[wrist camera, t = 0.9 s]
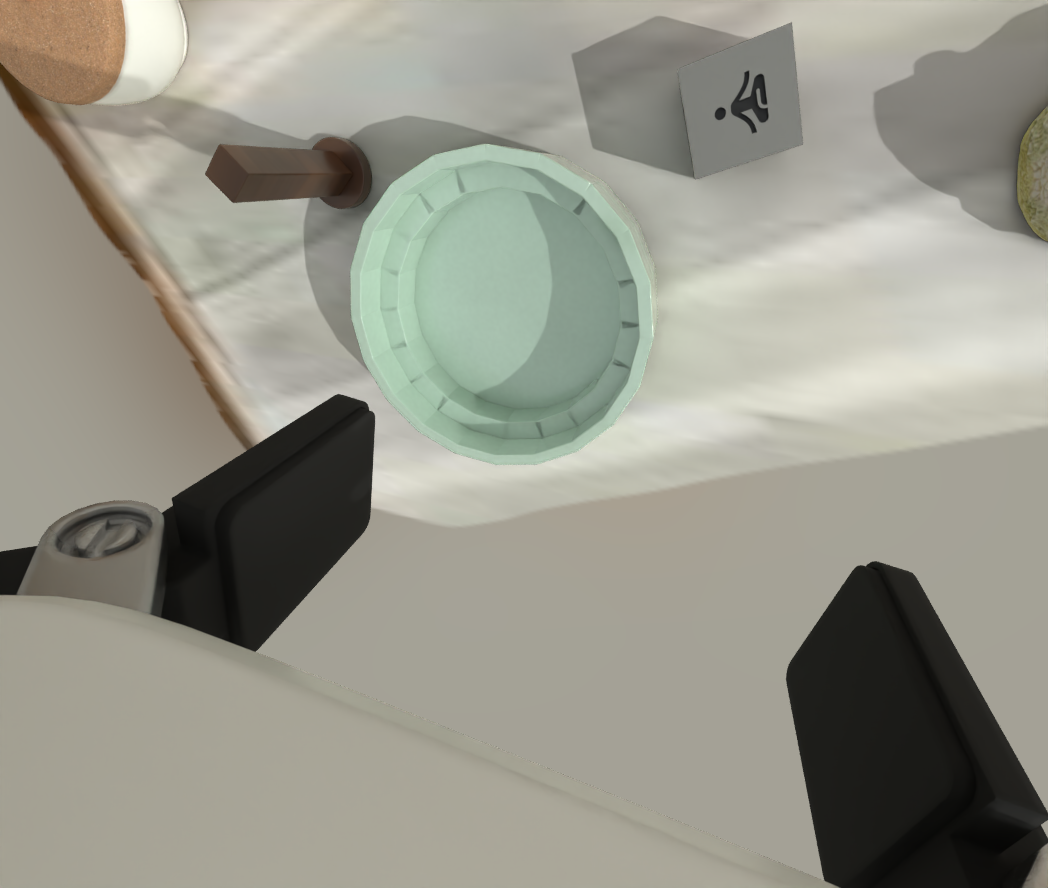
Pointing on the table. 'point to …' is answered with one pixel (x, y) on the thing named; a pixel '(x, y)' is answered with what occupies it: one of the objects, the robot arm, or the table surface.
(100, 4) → the trinket box
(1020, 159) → the ceramic model
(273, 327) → the table surface
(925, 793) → the robot arm
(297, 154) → the muddler
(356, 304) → the bowl
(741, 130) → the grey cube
